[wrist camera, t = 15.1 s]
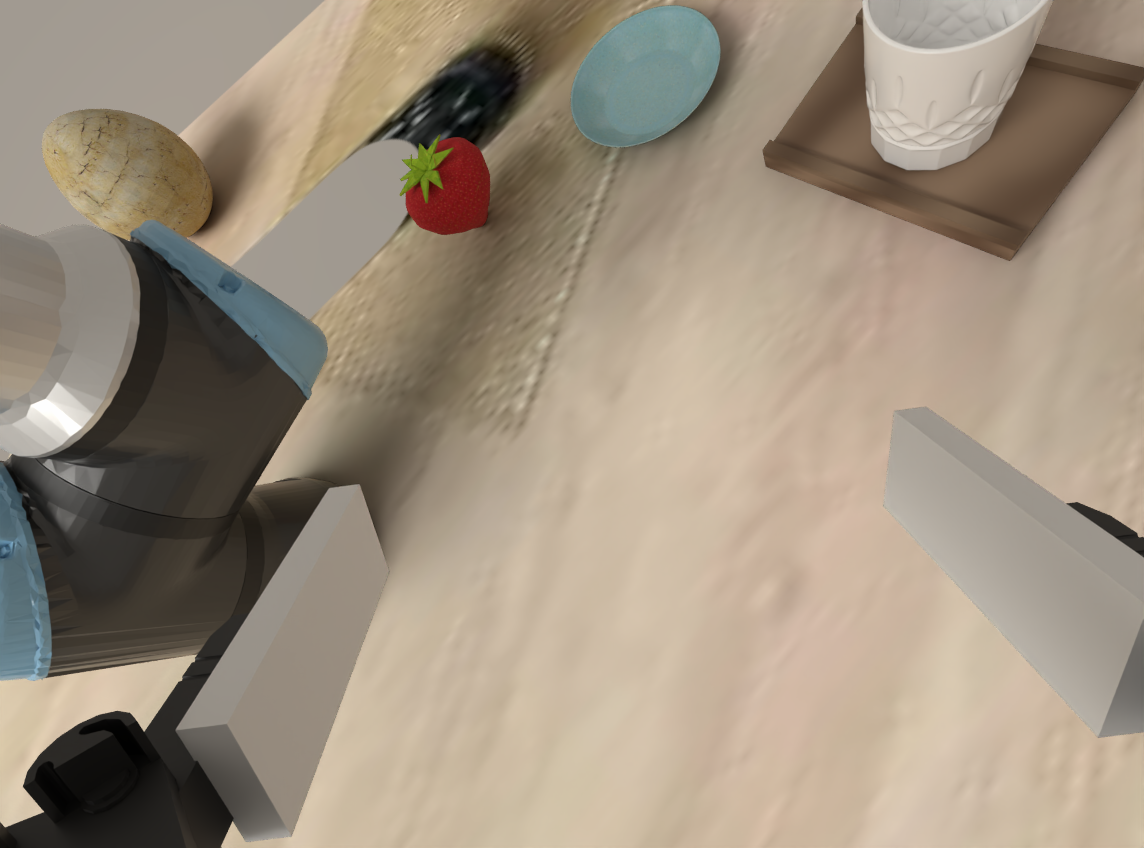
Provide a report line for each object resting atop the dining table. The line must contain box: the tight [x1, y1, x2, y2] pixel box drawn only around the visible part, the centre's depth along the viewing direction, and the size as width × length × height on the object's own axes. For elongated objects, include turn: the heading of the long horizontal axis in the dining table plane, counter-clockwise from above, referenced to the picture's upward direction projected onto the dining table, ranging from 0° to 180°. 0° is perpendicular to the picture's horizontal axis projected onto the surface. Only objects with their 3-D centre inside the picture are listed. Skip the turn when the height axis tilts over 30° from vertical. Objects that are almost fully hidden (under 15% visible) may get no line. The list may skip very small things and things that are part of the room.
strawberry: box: [400, 134, 490, 235], centre depth 46 cm, size 6×8×10 cm
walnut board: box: [763, 7, 1144, 261], centre depth 36 cm, size 16×11×2 cm
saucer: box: [571, 5, 721, 148], centre depth 45 cm, size 12×12×2 cm
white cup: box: [862, 0, 1054, 170], centre depth 31 cm, size 8×8×10 cm
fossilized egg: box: [42, 109, 213, 240], centre depth 62 cm, size 13×13×15 cm
